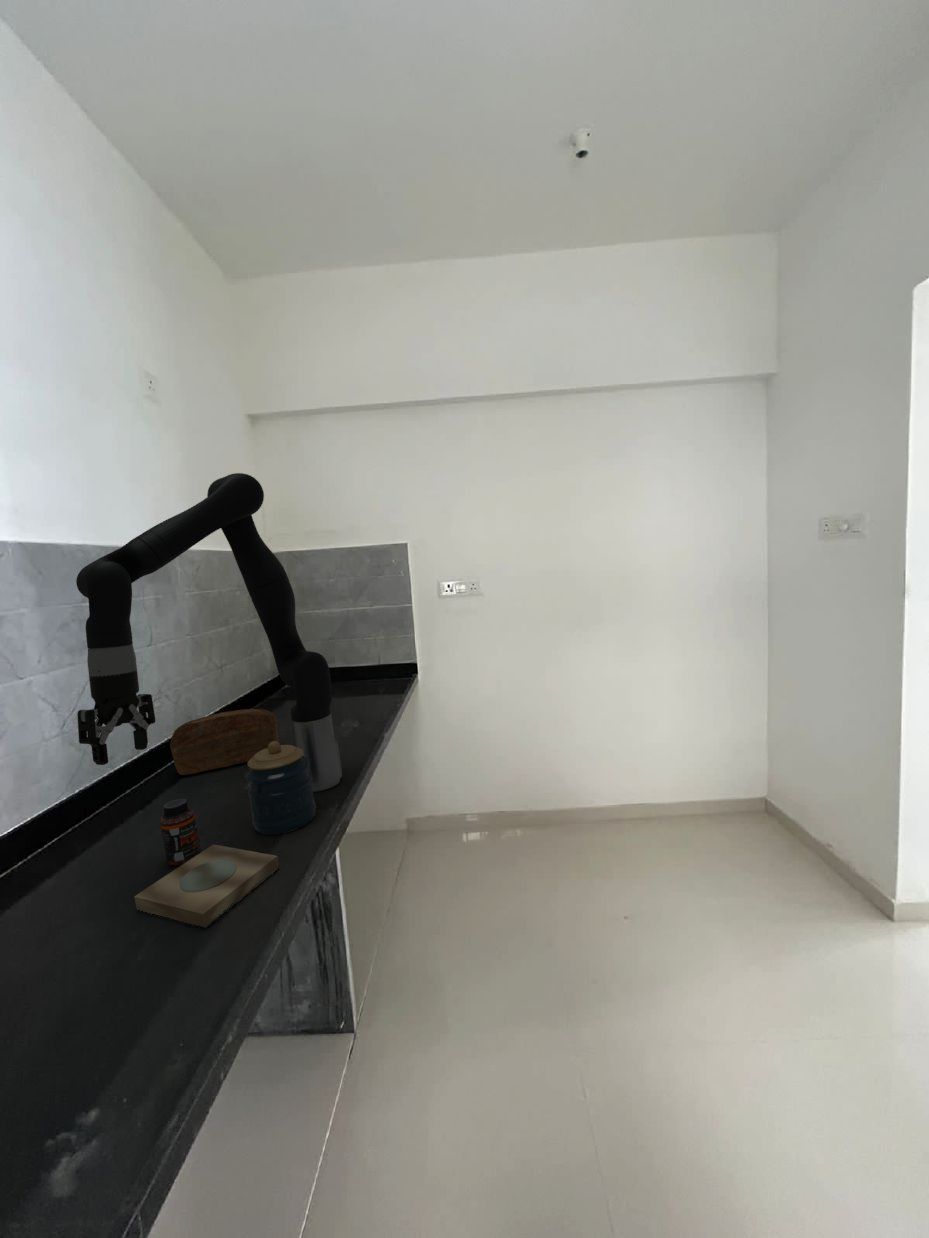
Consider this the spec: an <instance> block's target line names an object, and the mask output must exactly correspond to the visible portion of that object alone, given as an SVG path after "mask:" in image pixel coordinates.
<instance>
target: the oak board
mask: <svg viewBox="0 0 929 1238" xmlns="http://www.w3.org/2000/svg"><path fill="white" fill-rule="evenodd" d="M278 858H279V857H278V855H274V854H268V853H263V852H262V853H261V852H256V851H252V850H245V849H240V848H235V847H231V846H230V847H229V846H224V845H218V844H212V845H209V847H207V848H206V849H204V850H203V851H201V852H200V854H198V855H197V856H195V857H193V858H192V859H190V860H189V861H187V862H186V863H184V864H183V865H179V866H177V868H175V869H174V870H173V871H171V872H170V873H168V874H166V875H165V876H163V877H161V878H160V879H159V880H157V881H156V882H154V883H153V884H150V885H149V886H148V887H146V888H145V889H144V890H142V891H140V892H139V893H138V894H136V895H135V896H134V902H135V907H136V911H138V910H140V911H139V912H141V911H143V912H142V913H145V912H147V913H146V914H149V913H150V915H152V914H156V915H160V916H163V917H169V918H172V919H175V920H179V921H184V922H187V923H191V924H196V925H200V926H204V927H206V925H208V924H209V923H210V922H211V921H212V920H214V919H215V918H216V917H218V916H219V914H222V913H223V911H224V910H226V909H227V908H228V907H230V905H231V904H232V903H234V902H235V901H236V900H238V899H239V898H240V897H242V896H243V895H244V894H245V893H247V892H248V891H249V890H250V889H251V888H252V887H253V886H255V884H256V883H258V882H259V881H260V880H262V879H263V878H264V877H265V876H267V875H268V874H269V873H271V872H272V871H273V870H274V869H276V868H277V867H278V866H279V867H280V865H279V863H280V862H279V859H278ZM156 915H155V916H156ZM160 916H159V917H160ZM163 917H162V918H163Z"/></svg>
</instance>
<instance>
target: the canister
mask: <svg viewBox="0 0 929 1238" xmlns="http://www.w3.org/2000/svg"><path fill="white" fill-rule="evenodd" d="M303 753H304V752H303V750H302V749H300V748H297V747H296V745H292V744H281V743H280V742H279V741H278V742H277V741H273V742H270V743H269V745H268V748H266V749H264V750H261V751H259V752H258V753H256V754H255V755H254V757H253V758H251V759H250V760H249V761H248V762H247V767H248V768H249V769H248V770H247V771H245V773H244V778H245V779H246V781H247V782H248V787H247V794H248V796H249V803H250V809H251V814H252V816H251V820H252V824H253V826H254V829H255V831H256V832H258V833H259V834H261V835H267V836H268V835H269V836H273V835H272V834H276V835H282V834H285V833H284V832H287V833H290V832H292V831H291V830H293V831H295V830H294V829H296V828H298V829H300V828H302V827H304V826H306V825H307V824H309V823H310V822H311V821H312V820H313V819H314V817H315V816H316V809H317V805H316V801H315V799H314V792H313V790H312V783H311V774H310V773H309V772H308V769H307V767H308V765H309V760H308V759H307V758H306V757H303ZM312 818H313V819H312ZM309 821H310V822H309ZM308 822H309V823H308ZM303 825H304V826H303ZM301 826H302V827H301ZM296 830H297V829H296ZM289 831H290V832H289ZM281 833H282V834H281Z"/></svg>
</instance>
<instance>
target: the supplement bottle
mask: <svg viewBox="0 0 929 1238" xmlns="http://www.w3.org/2000/svg"><path fill="white" fill-rule="evenodd" d="M162 808H163V813H164V815H163V816H162V817H161V818H160V820H159V821H160V831H161V836H162V841H163V847H164V854H165V859H166V862H167V864H168V865H170V866H181V865H183V864H184V863H186V862H187V861H189V860H190V859H192V858H193V857H195V856H197V855H198V854H200V853H201V852H202V850H201V843H200V841H201V840H200V839H199V838H200V837H199V832H198V826H197V821H196V815H195V811H194V810H193V809H192V808H190V807H189V806H188V801H187V799H185V798H177V799H174V800H171V801H168V802H167V803H165V804H163V807H162Z"/></svg>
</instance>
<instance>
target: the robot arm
mask: <svg viewBox="0 0 929 1238" xmlns="http://www.w3.org/2000/svg"><path fill="white" fill-rule="evenodd" d="M206 496H207V497H206V498H204V499H202V500H201V501H200V502H198V503H196V504H195V505H193V506H191V507H189V508H188V509H185V510H184V511H182V512H180V513H178V514H176V515H174V516H171V517H169V518H167V519H166V520H164V521H162V522H159V523H158V524H156V525H154V526H152V527H150V528H149V529H147V530H146V531H143V532H142V533H140V534H139V535H137V536H135V537H134V538H133V539H131V540H129V541H128V542H127V543H125V544H124V545H123V546H121V547H119V548H118V549H116V550H113V551H112V552H109V553H108V554H105V555H103V556H102V557H100V558H97V559H96V560H94V561H92V562H90V563H89V564H87V565H85V566H84V567H82V569H80V571H79V572H78V574H77V576H76V579H75V580H76V581H75V583H76V586H77V590H78V591H79V593H80V594H81V595H82V596H83V597H85V598H86V599H88V612H89V613H88V614H89V616H88V618H87V619H86V621H85V637H86V644H87V645H86V646H87V661H86V662H87V670H88V671H87V672H88V679H89V689H90V697H91V699H92V700H93V701H94V706H93V708H91V709H79V710H78V711H77V731H78V733H77V734H78V742H79V744H80V745H90V746H91V753H92V760H93V763H95V765H97V766H105V765H107V764H108V763H109V755H108V754H109V753H108V745H107V743H106V742H107V740H108V737H109V735H110V734H111V733H113V731H114V729H115V728H116V727H120V726H121V725H123V724H129V725H130V726H131V728H132V729H134V730H133V732H132V733H133V740H134V741H133V743H134V748H135V750H137V751H138V750H139V751H144V750H145V749H147V748H148V744H149V743H148V742H149V739H148V732H147V731H148V728H149V726H150V725H153V724H155V723H156V714H155V708H154V707H155V706H154V703H153V702H154V701H153V695H152V694H151V693H142V694H141V693H140V694H138V693H139V691H140V686H139V685H140V684H139V675H138V674H139V673H138V666H137V657H136V652H135V649H134V643H133V633H132V625H131V613H132V605H133V604H132V603H133V602H132V600H133V586H132V584H133V583H135V582H136V581H138V580H139V579H141V578H143V577H145V576H147V575H148V576H149V575H151V574H153V573H156V572H157V571H158V570H161V569H162V568H164V567H165V566H166V565H168V564H169V563H171V562H172V561H174V560H175V559H176V558H178V557H180V556H181V555H182V554H184V553H185V552H187V551H188V550H190V549H191V548H192V547H194V546H195V545H196V544H198V543H200V542H201V541H202V540H204V539H205V538H207V537H209V536H210V535H211V534H213V533H215V532H217V531H218V530H221V531H222V533H223V534H224V536H225V539H226V540H227V543H228V544H229V547H230V549H231V551H232V554H233V557H234V559H235V562H236V565H237V566H238V570H239V572H240V574H241V577H242V579H243V581H244V584H245V588H246V589H247V592H248V594H249V597H250V600H251V602H252V605H253V606H254V609H255V611H256V612H257V615H258V617H259V620H260V623H261V625H262V627H263V630H264V632H265V634H266V637H267V639H268V642H269V644H270V648H271V651H272V655H273V658H274V662H275V666H276V670H277V671H278V672H277V673H278V675H279V678H280V679H281V680H282V682H283V683H284V684H285V685H286V686H288V687H290V688H292V689H294V690H295V700H296V702H295V704H294V705H293V706H292V707H291V708H290V719H291V724H292V731H293V735H294V736H293V737H294V742H295V747H297V748H300V749H302V750H303V752H304V753H303V757H306V758H307V759H308V760H309V765H308V767H307V769H308V772H309V773H310V774H311V783H312V790H313V793H314V792H315V793H316V792H322V791H325V790H328V789H331V788H333V787H335V786H336V785H338V784H339V783H340V782H341V778H343V772H342V770H343V769H342V764H341V758H340V756H341V755H340V749H339V742H338V740H337V739H335V731H334V726H333V719H332V718H333V717H332V709H331V705H332V701H333V696H332V695H333V693H332V683H331V682H332V680H331V673H330V667H329V665H328V664H329V663H328V661H327V660H326V658H325V657H324V655H322V654H321V653H319V652H315V651H309V650H306V648H305V646H304V644H303V642H302V640H301V637H300V635H299V632H298V630H297V625H296V624H297V623H296V598H295V597H296V596H295V593H294V590H293V587H292V584H291V582H290V580H289V577H288V574H287V572H286V569H285V568H284V566H283V564H282V563H281V562H280V560H279V559H278V558H277V556H276V555H275V554H274V553H273V551H272V550H271V549H270V548H269V547H268V546H267V544H266V543H265V542H264V540H263V539H262V537H261V535H260V534H259V532H258V529H257V526H256V524H255V521H254V519H253V516H252V515H254V514H256V513H257V512H258V511H259V510H260V509H261V507H262V505H263V504H264V500H265V499H264V498H265V494H264V489H263V486H262V485H261V483H260V482H259V480H258V479H257V478H255V477H254V476H252V475H250V474H248V473H243V472H238V473H237V472H235V473H231V474H227V475H225V476H223V477H220V478H217V479H215V480H214V481H213V482H212V483H211V484H210V485H209V487H208V489H207V495H206ZM103 725H104V726H103Z"/></svg>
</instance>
